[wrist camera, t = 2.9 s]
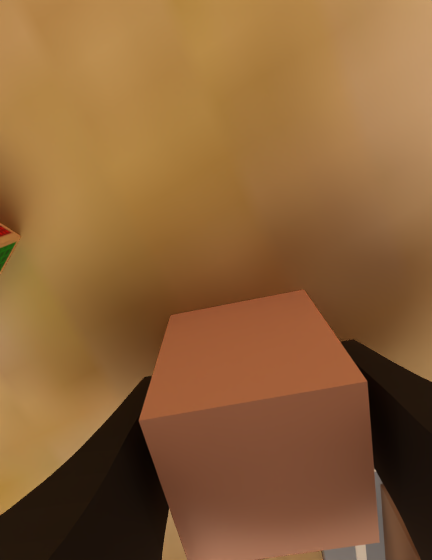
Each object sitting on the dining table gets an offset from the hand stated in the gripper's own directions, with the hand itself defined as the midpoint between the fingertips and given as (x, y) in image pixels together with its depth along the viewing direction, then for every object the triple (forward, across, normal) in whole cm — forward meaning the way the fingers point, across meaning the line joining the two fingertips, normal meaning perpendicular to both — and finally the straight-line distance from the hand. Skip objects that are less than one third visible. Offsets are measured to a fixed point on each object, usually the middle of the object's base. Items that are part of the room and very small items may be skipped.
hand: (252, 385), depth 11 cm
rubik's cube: (+2, +10, -6) cm, 12 cm away
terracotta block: (+2, 0, 0) cm, 2 cm away
